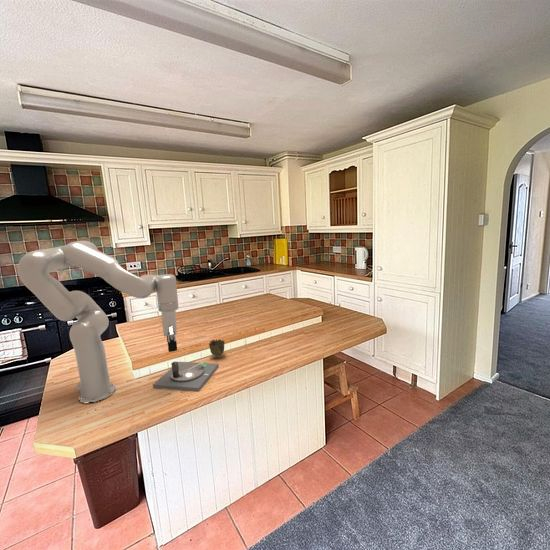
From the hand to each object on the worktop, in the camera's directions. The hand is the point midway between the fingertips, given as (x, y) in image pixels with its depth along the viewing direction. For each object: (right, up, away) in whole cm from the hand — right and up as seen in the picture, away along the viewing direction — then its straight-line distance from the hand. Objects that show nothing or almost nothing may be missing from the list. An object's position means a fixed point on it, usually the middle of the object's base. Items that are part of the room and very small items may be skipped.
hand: (172, 346), depth 119 cm
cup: (+14, -12, +25) cm, 30 cm away
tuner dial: (+5, -13, +8) cm, 16 cm away
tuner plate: (+4, -15, +7) cm, 17 cm away
